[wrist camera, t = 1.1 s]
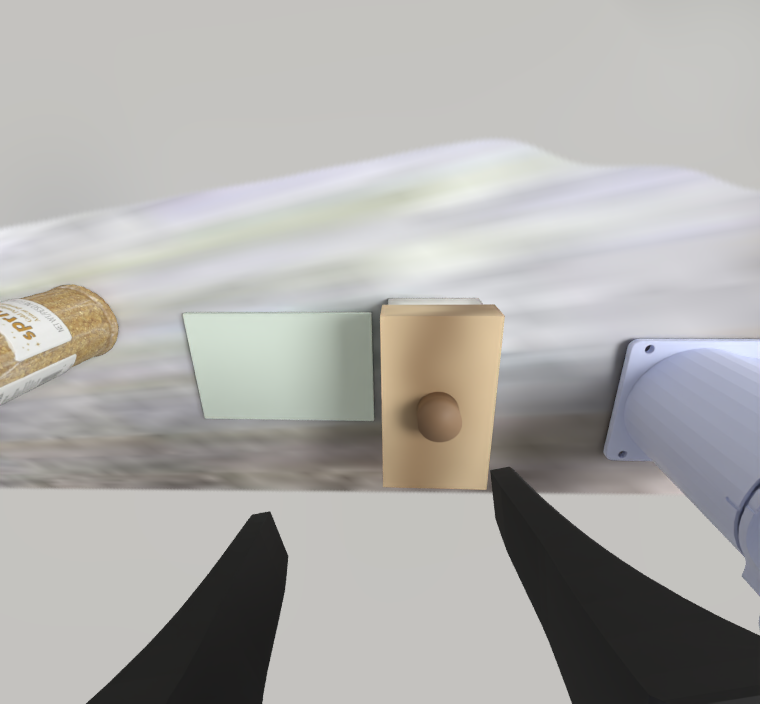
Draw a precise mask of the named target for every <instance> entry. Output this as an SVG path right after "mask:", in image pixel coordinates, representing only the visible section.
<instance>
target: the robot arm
mask: <svg viewBox="0 0 760 704" xmlns="http://www.w3.org/2000/svg"><path fill="white" fill-rule="evenodd" d="M648 345H650V349H649V350H647V351H645V348H646V347H647V346H648ZM621 451H623V453H621V454H619V452H621ZM603 453H604V455H605V456H606V458H607V459H609V460H621V461H653V462H654V463H655V464H656V465H657V466H658V467H659V468H660V469H661V470H662V471H663V473H664V474H665V475H666V476H667V477H668V478H669V479H670V480H671V481H672V482H673V483H674V484H675V485H676V486H677V487H678V488H679V489H680V490H681V491H682V492H683V493H684V494H685V495H686V497H687V498H688V499H689V500H690V501H691V502H692V503H693V504H694V505H695V506H696V507H697V508H698V509H699V510H700V511H701V512H702V513H703V514H704V515H705V516H706V517H707V518H708V519H709V520H710V522H712V524H713V525H714V526H715V527H716V528H717V529H718V530H719V531H720V532H721V533H722V534H723V535H724V536H725V537H726V538H727V539H728V540H729V541H730V542H731V543H732V545H733V546H734V547H735V548H736V549H737V550H738V551H739V552H740V553H741V554H742V555H743V556H744V557H745V559H746V566H745V569H744V571H743V574H742V577H743V578H744V579H745V580H746V581H747V583H748V584H749V585H750V586H751V587H752V588H753V589H754V590H755V591H756V593H757V594H758V595H759V596H760V339H635V340H633V341H631V343H630V344H629V345H628V348H627V352H626V356H625V361H624V365H623V369H622V373H621V378H620V382H619V386H618V391H617V395H616V399H615V403H614V408H613V412H612V416H611V420H610V425H609V429H608V433H607V438H606V442H605V446H604V450H603ZM490 472H491V482H492V491H493V500H494V509H495V518H496V521H497V524H498V527H499V530H500V533H501V536H502V539H503V541H504V544H505V547H506V550H507V552H508V554H509V557H510V558H511V561H512V563H513V565H514V567H515V569H516V571H517V574H518V576H519V578H520V580H521V582H522V584H523V586H524V588H525V590H526V593H527V595H528V597H529V599H530V601H531V603H532V605H533V607H534V609H535V612H536V614H537V616H538V618H539V620H540V622H541V624H542V626H543V629H544V631H545V634H546V636H547V638H548V640H549V643H550V645H551V648H552V651H553V653H554V656H555V659H556V661H557V664H558V667H559V669H560V672H561V675H562V677H563V680H564V683H565V685H566V688H567V691H568V693H569V696H570V699H571V701H572V704H760V636H759V635H757V634H755V633H753V632H751V631H749V630H746V629H745V628H742V627H740V626H738V625H736V624H734V623H731V622H730V621H727V620H725V619H723V618H721V617H719V616H717V615H715V614H713V613H711V612H710V611H708V610H706V609H704V608H702V607H700V606H698V605H696V604H694V603H692V602H690V601H689V600H687V599H685V598H683V597H681V596H680V595H678V594H676V593H674V592H673V591H671V590H669V589H668V588H666V587H664V586H662V585H661V584H659V583H657V582H656V581H654V580H652V579H650V578H649V577H647V576H645V575H643V574H642V573H641V572H639V571H638V570H636V569H634V568H633V567H631V566H630V565H628V564H627V563H625V562H623V561H622V560H620V559H619V558H618V557H616V556H615V555H613V554H612V553H610V552H609V551H608V550H606V549H605V548H603V547H602V546H601V545H599V544H598V543H596V542H595V541H594V540H592V539H591V538H590V537H588V536H587V535H586V534H585V533H583V532H582V531H581V530H580V529H578V528H577V527H576V526H574V525H573V524H572V523H571V522H570V521H568V520H567V519H566V518H565V517H564V516H562V515H561V514H560V513H559V512H558V511H557V510H555V509H554V508H553V507H552V506H551V505H549V503H547V502H546V501H545V500H544V499H543V498H542V497H541V496H540V495H539V494H538V493H537V492H535V491H534V490H533V489H532V488H531V487H530V486H529V485H528V484H527V483H526V482H525V481H524V480H523V479H522V478H521V477H520V476H519V475H518V474H517V473H516V472H515V471H514V470H513V469H512V468H510V467H506V468H500V469H495V470H490ZM287 564H288V555H287V552H286V550H285V547H284V545H283V542H282V540H281V537H280V535H279V532H278V530H277V527H276V525H275V522H274V520H273V517H272V515H271V512H265V513H259V514H253V515H252V516H251V517H250V518H249V519H248V521H247V522H246V524H245V525H244V526H243V528H242V529H241V530H240V532H239V533H238V534H237V536H236V538H235V539H234V540H233V542H232V543H231V544H230V545H229V547H228V548H227V550H226V551H225V552H224V554H223V555H222V556H221V558H220V559H219V560H218V562H217V563H216V564H215V566H214V567H213V568H212V570H211V571H210V573H209V574H208V575H207V576H206V578H205V579H204V580H203V581H202V583H201V584H200V585H199V586H198V588H197V589H196V590H195V591H194V592H193V594H192V595H191V596H190V597H189V599H188V600H187V601H186V602H185V604H184V605H183V606H182V607H181V608H180V610H179V611H178V612H177V613H176V614H175V615H174V616H173V618H172V619H171V620H170V621H169V622H168V623H167V624H166V625H165V626H164V628H163V629H162V630H161V631H160V632H159V633H158V634H157V635H156V636H155V637H154V638H153V639H152V641H151V642H150V643H149V644H148V645H147V646H146V647H145V648H144V649H143V650H142V651H141V652H140V653H139V654H138V655H137V656H136V657H135V658H134V659H133V660H132V661H131V662H130V663H129V664H128V665H127V666H126V667H125V668H124V669H122V670H121V671H120V673H118V674H117V675H116V676H115V677H114V678H113V679H112V680H111V681H110V682H109V683H108V684H107V685H106V686H105V687H104V688H103V689H102V690H100V691H99V692H98V693H97V694H96V695H95V696H94V697H93V698H92V699H91V700H89V701H88V702H87V703H86V704H262V701H263V693H264V687H265V682H266V676H267V670H268V666H269V662H270V657H271V652H272V648H273V644H274V639H275V634H276V630H277V625H278V621H279V616H280V611H281V607H282V602H283V597H284V592H285V585H286V576H287ZM759 628H760V617H759Z"/></svg>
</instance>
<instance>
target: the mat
mask: <svg viewBox="0 0 760 704" xmlns="http://www.w3.org/2000/svg"><path fill="white" fill-rule="evenodd" d="M183 319H184V323H185V328H186V333H187V337H188V342H189V347H190V351H191V356H192V361H193V366H194V370H195V375H196V380H197V384H198V389H199V394H200V398H201V403H202V408H203V412H204V417H205V419H269V420H335V421H374V389H373V351H372V314H371V312H186V313H184V314H183Z"/></svg>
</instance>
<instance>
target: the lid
mask: <svg viewBox="0 0 760 704" xmlns="http://www.w3.org/2000/svg"><path fill="white" fill-rule="evenodd" d="M504 318H505V316H504V315H503V314H502V312H501V311H500V310H499V309H498V308H497V307H496V306H495V305H382V309H381V314H380V341H381V396H382V451H383V487H397V488H437V489H476V490H486V489H487V480H488V470H489V461H490V451H491V442H492V432H493V423H494V413H495V404H496V394H497V385H498V375H499V365H500V356H501V346H502V337H503V327H504Z"/></svg>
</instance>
